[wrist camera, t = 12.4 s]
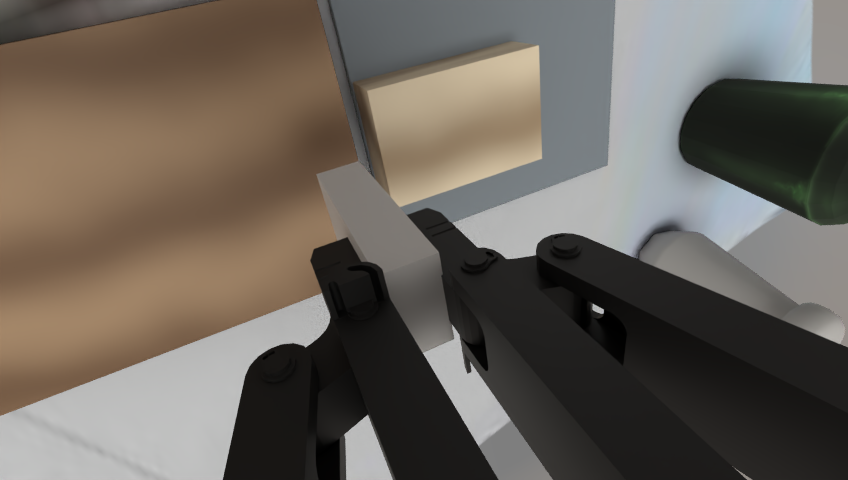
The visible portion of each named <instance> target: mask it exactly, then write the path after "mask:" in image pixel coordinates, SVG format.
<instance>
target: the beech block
mask: <svg viewBox="0 0 848 480" xmlns="http://www.w3.org/2000/svg"><path fill="white" fill-rule="evenodd" d="M353 87H354V91H355V95H356V99H357V103H358V108H359V112H360V116H361V120H362V124H363V129H364V133H365V137H366V141H367V146H368V150H369V154H370V158H371V162H372V167H373V171H374V175H375V179H376V181H377V182H378V183H379V184H380V185H381V187H382V188H383V189H384V190H385V191H386V192H387V193H388V195H389V196H390V197H391V198H392V199H393V200H394V201H395V203H396V204H397V205H398V206H399V207H402V206H405V205H408V204H410V203H413V202H416V201H419V200H422V199H425V198H428V197H431V196H434V195H437V194H440V193H443V192H446V191H449V190H452V189H454V188H457V187H460V186H463V185H466V184H469V183H472V182H475V181H478V180H481V179H484V178H487V177H490V176H493V175H496V174H498V173H501V172H504V171H507V170H510V169H513V168H516V167H519V166H522V165H525V164H528V163H531V162H534V161H537V160H540V159H542V138H541V101H540V64H539V45H534V44H527V43H521V42H514V41H510V42H506V43H502V44H498V45H495V46H491V47H487V48H483V49H479V50H475V51H471V52H467V53H464V54H460V55H456V56H452V57H448V58H444V59H440V60H436V61H433V62H429V63H425V64H421V65H417V66H413V67H409V68H405V69H402V70H398V71H394V72H390V73H386V74H382V75H378V76H374V77H371V78H367V79H363V80H359V81H355V82H353Z"/></svg>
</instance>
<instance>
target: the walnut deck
mask: <svg viewBox="0 0 848 480" xmlns="http://www.w3.org/2000/svg"><path fill="white" fill-rule="evenodd" d="M357 161H358V157H357V154H356V150H355V146H354V142H353V138H352V134H351V131H350V127H349V123H348V119H347V115H346V111H345V108H344V104H343V100H342V96H341V92H340V88H339V85H338V81H337V77H336V73H335V69H334V65H333V62H332V58H331V54H330V50H329V46H328V42H327V39H326V35H325V31H324V27H323V23H322V19H321V16H320V12H319V8H318V4H317V0H216V1H211V2H206V3H201V4H196V5H191V6H186V7H181V8H177V9H172V10H167V11H162V12H157V13H152V14H147V15H142V16H137V17H132V18H127V19H122V20H117V21H113V22H108V23H103V24H98V25H93V26H88V27H83V28H78V29H73V30H68V31H63V32H58V33H54V34H49V35H44V36H39V37H34V38H29V39H24V40H19V41H14V42H9V43H4V44H0V416H1V415H4V414H6V413H9V412H12V411H14V410H17V409H19V408H22V407H25V406H27V405H30V404H33V403H35V402H38V401H40V400H43V399H46V398H48V397H51V396H53V395H56V394H59V393H61V392H64V391H67V390H69V389H72V388H74V387H77V386H80V385H82V384H85V383H88V382H90V381H93V380H95V379H98V378H101V377H103V376H106V375H108V374H111V373H114V372H116V371H119V370H122V369H124V368H127V367H129V366H132V365H135V364H137V363H140V362H142V361H145V360H148V359H150V358H153V357H156V356H158V355H161V354H163V353H166V352H169V351H171V350H174V349H177V348H179V347H182V346H184V345H187V344H190V343H192V342H195V341H197V340H200V339H203V338H205V337H208V336H211V335H213V334H216V333H218V332H221V331H224V330H226V329H229V328H232V327H234V326H237V325H239V324H242V323H245V322H247V321H250V320H252V319H255V318H258V317H260V316H263V315H266V314H268V313H271V312H273V311H276V310H279V309H281V308H284V307H287V306H289V305H292V304H294V303H297V302H300V301H302V300H305V299H307V298H310V297H313V296H315V295H318V294H321V293H322V292H321V289H320V286H319V283H318V281H317V278H316V275H315V272H314V270H313V267H312V264H311V261H310V259H311V256H312V253H313V250H314V249H315V248H318V247H321V246H324V245H326V244H329V243H332V242H335V241H337V238H336V235H335V232H334V228H333V225H332V222H331V219H330V216H329V213H328V209H327V206H326V203H325V200H324V197H323V194H322V191H321V187H320V184H319V181H318V178H317V175H316V174H319V173H322V172H325V171H329V170H332V169H335V168H338V167H341V166H345V165H348V164H351V163H354V162H357Z"/></svg>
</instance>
